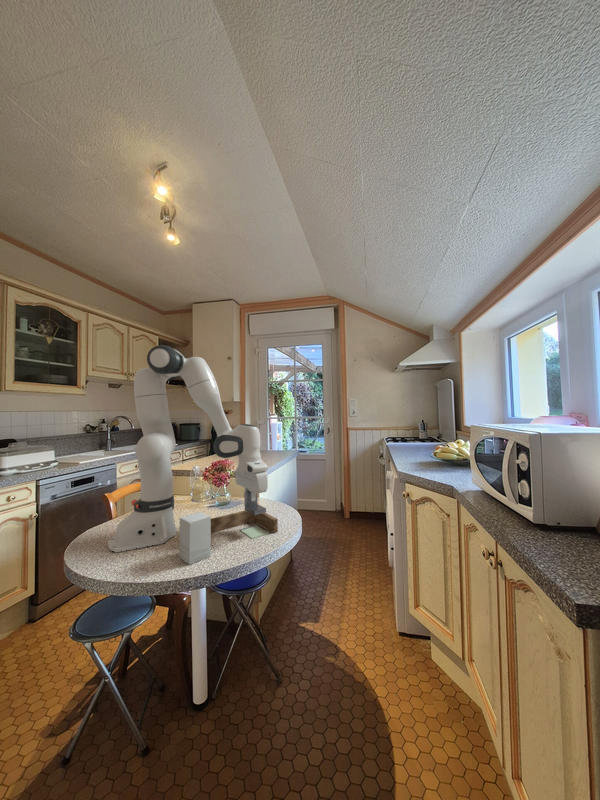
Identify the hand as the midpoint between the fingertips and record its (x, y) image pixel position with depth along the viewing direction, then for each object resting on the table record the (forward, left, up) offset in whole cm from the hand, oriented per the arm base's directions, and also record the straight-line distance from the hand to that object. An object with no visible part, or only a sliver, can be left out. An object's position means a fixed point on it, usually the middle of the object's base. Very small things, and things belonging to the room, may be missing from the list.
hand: (250, 499), depth 114 cm
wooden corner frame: (-4, 0, -12) cm, 12 cm away
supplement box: (-24, -8, -12) cm, 28 cm away
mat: (0, -3, -12) cm, 12 cm away
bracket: (0, -3, -4) cm, 5 cm away
